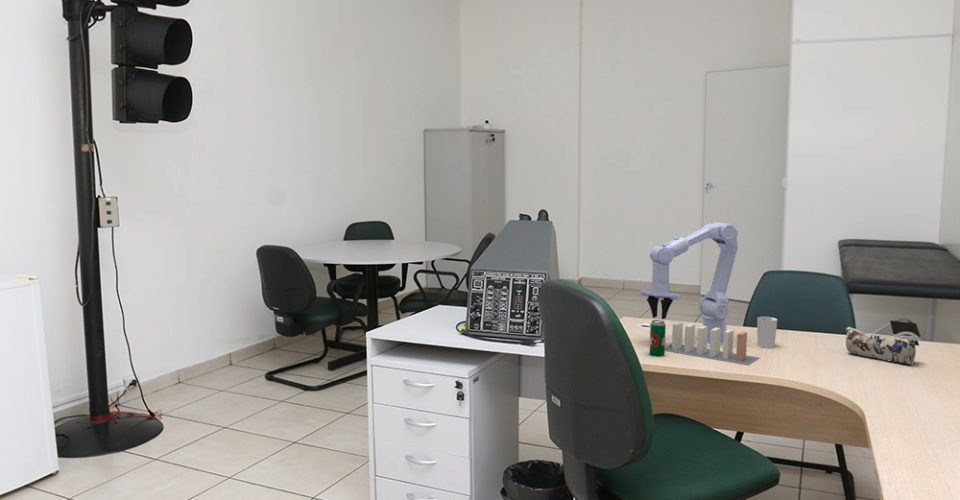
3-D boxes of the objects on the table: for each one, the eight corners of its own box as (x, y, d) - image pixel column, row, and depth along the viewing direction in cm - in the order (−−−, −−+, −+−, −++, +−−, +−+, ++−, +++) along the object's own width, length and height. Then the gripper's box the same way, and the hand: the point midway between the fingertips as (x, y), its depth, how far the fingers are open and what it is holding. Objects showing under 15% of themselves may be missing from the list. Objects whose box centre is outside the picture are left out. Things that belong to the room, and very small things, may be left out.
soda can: (664, 358, 246) (666, 323, 244) (649, 357, 247) (650, 322, 245) (664, 354, 251) (665, 320, 249) (649, 353, 252) (650, 319, 250)
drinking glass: (755, 347, 260) (757, 319, 259) (756, 342, 267) (757, 316, 265) (775, 349, 258) (777, 321, 257) (775, 344, 264) (777, 317, 263)
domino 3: (696, 353, 250) (697, 328, 249) (702, 350, 254) (703, 325, 253) (701, 354, 249) (702, 328, 248) (706, 351, 253) (707, 326, 252)
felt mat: (673, 344, 264) (673, 343, 264) (760, 358, 245) (760, 357, 245) (659, 351, 255) (659, 350, 255) (748, 366, 236) (748, 365, 236)
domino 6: (736, 360, 242) (737, 333, 240) (741, 357, 245) (742, 331, 244) (740, 361, 241) (742, 334, 239) (745, 358, 244) (747, 331, 243)
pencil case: (918, 363, 240) (921, 334, 239) (909, 368, 235) (911, 338, 234) (850, 350, 257) (852, 323, 256) (839, 354, 252) (841, 326, 250)
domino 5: (722, 358, 244) (723, 331, 243) (727, 355, 248) (729, 329, 247) (727, 358, 243) (728, 332, 242) (732, 355, 247) (733, 329, 246)
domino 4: (709, 355, 247) (710, 329, 246) (714, 352, 251) (716, 327, 250) (714, 356, 246) (715, 330, 245) (719, 353, 250) (720, 328, 249)
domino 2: (684, 351, 253) (685, 326, 252) (689, 348, 257) (690, 323, 255) (688, 352, 252) (689, 326, 251) (694, 349, 256) (695, 324, 254)
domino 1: (671, 349, 255) (672, 324, 254) (677, 346, 259) (678, 321, 258) (676, 350, 254) (677, 325, 253) (682, 347, 258) (682, 322, 257)
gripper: (636, 279, 260) (635, 317, 261) (675, 284, 251) (673, 322, 252) (645, 277, 265) (644, 313, 267) (683, 281, 256) (682, 319, 258)
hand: (659, 317), depth 260 cm, fingers open, 3 cm apart
